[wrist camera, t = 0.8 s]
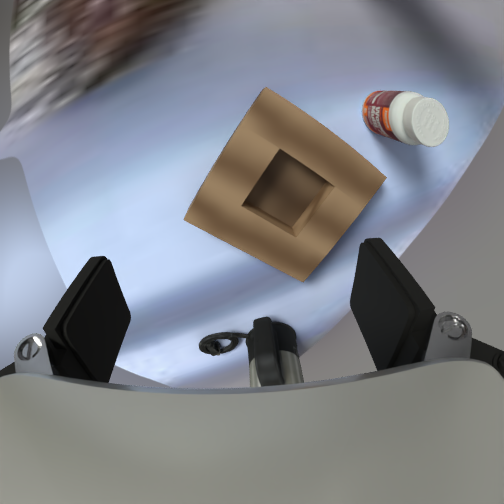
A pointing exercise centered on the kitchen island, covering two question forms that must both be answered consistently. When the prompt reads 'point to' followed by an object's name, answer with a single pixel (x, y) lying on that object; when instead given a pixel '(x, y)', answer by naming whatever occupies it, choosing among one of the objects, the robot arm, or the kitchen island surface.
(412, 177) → the kitchen island surface
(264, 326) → the milk frother
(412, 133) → the pill bottle
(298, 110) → the socket block
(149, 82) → the kitchen island surface
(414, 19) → the kitchen island surface
